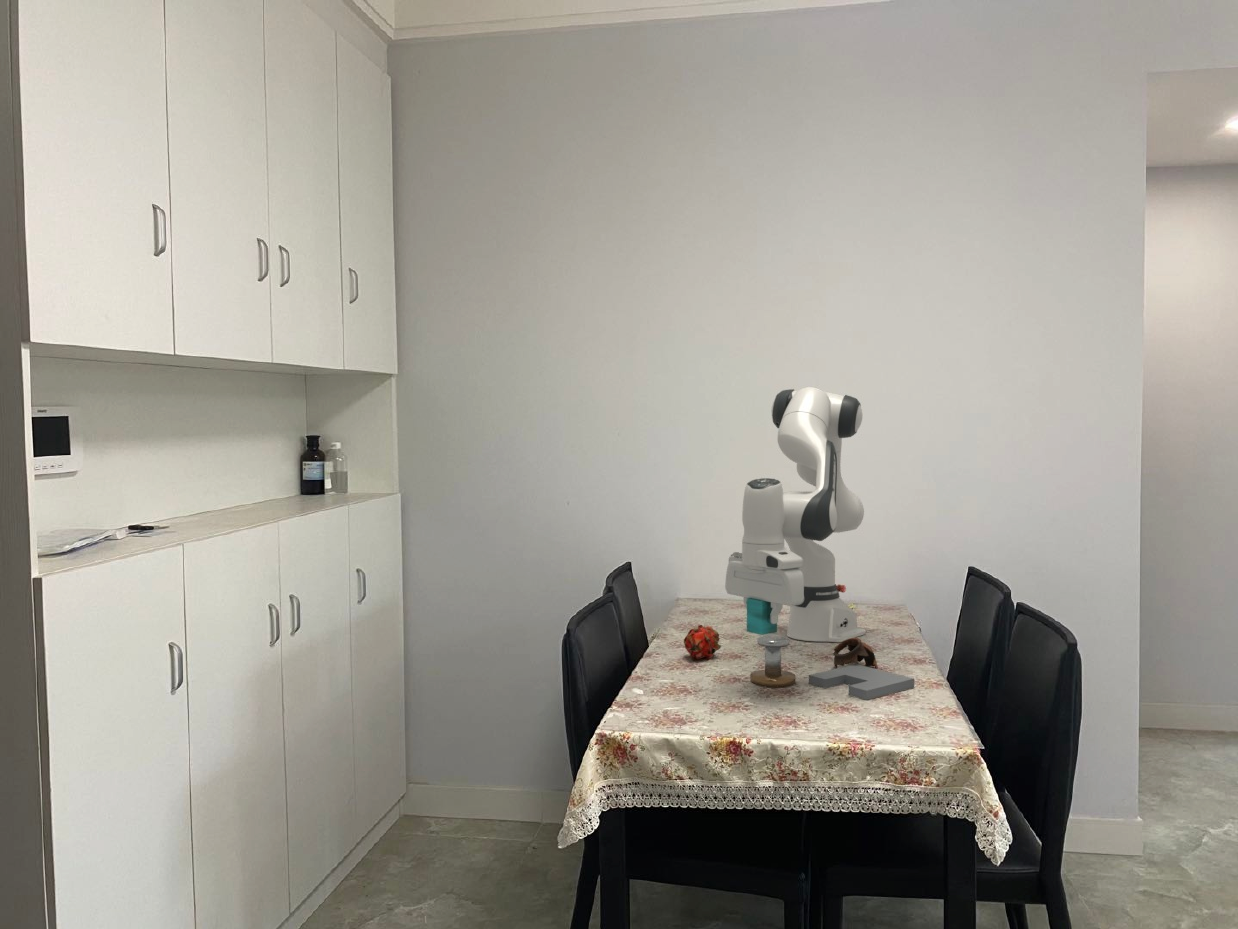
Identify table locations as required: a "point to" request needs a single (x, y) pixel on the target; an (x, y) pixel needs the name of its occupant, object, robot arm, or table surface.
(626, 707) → the table surface
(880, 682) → the notched board
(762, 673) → the bobbin post
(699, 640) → the dragon fruit
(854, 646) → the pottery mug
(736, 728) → the table surface
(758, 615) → the block
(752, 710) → the table surface
